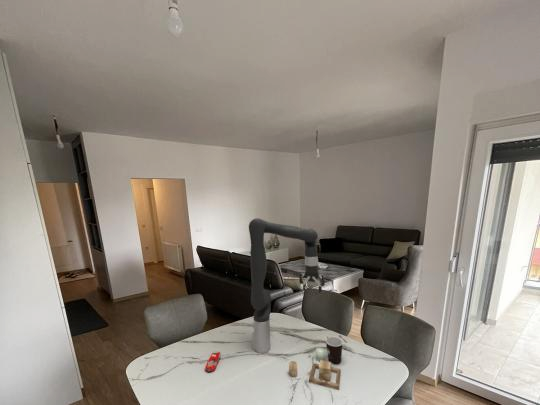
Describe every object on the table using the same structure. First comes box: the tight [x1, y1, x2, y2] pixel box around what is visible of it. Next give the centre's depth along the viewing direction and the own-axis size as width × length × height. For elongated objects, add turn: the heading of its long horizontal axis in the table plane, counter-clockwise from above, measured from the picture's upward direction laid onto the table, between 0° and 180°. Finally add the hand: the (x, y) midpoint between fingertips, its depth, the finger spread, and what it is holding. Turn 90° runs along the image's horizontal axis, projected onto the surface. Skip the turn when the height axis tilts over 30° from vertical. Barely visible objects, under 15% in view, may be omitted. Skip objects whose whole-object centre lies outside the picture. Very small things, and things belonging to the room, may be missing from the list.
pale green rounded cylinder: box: [315, 347, 326, 363], centre depth 123 cm, size 4×4×5 cm
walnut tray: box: [308, 362, 342, 391], centre depth 111 cm, size 14×12×2 cm
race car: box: [204, 350, 222, 373], centre depth 122 cm, size 13×5×4 cm, turn 174°
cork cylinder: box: [288, 360, 298, 378], centre depth 113 cm, size 4×4×5 cm
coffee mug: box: [325, 336, 344, 366], centre depth 124 cm, size 12×9×10 cm
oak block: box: [318, 360, 332, 382], centre depth 111 cm, size 5×5×6 cm
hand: (312, 291), depth 134 cm, fingers open, 8 cm apart
